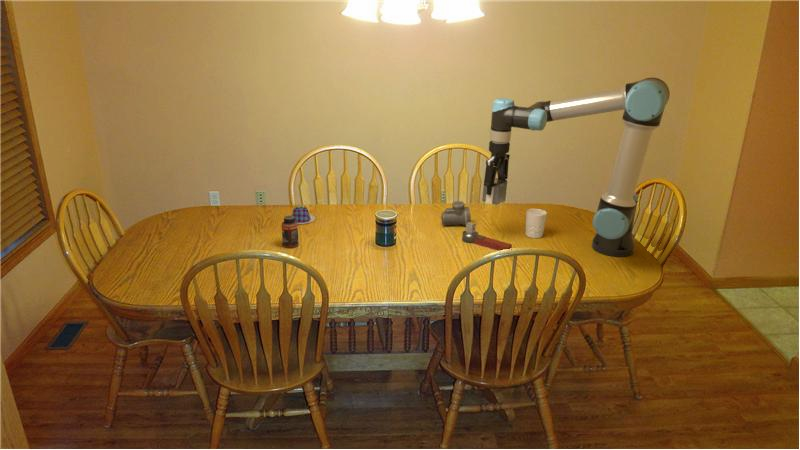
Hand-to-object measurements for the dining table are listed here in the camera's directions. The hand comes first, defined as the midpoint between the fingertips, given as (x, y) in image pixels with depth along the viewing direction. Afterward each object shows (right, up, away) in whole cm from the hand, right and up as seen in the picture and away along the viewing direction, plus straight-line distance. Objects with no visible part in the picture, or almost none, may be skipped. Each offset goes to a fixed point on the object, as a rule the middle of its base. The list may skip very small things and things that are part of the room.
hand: (493, 200), depth 225 cm
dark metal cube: (0, 0, 0) cm, 0 cm away
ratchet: (-3, -17, -1) cm, 17 cm away
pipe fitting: (-13, -10, +18) cm, 24 cm away
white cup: (+17, -14, +9) cm, 24 cm away
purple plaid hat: (-78, -8, +20) cm, 80 cm away
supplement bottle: (-77, -17, -5) cm, 79 cm away
